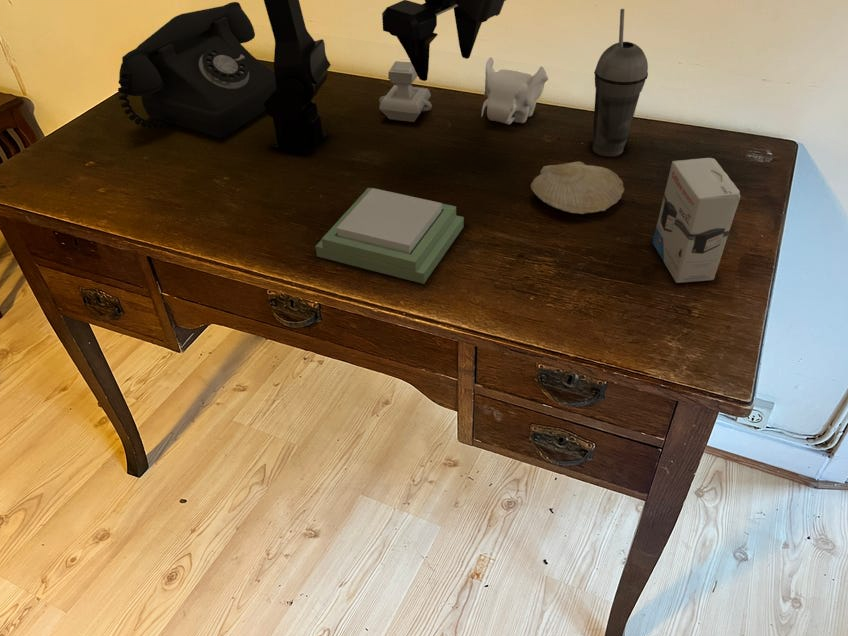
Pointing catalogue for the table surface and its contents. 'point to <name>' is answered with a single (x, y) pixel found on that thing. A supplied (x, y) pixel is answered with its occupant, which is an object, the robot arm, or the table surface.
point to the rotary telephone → (198, 73)
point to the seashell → (578, 187)
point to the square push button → (390, 220)
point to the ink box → (695, 219)
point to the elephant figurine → (511, 93)
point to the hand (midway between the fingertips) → (444, 68)
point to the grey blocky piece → (404, 94)
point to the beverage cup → (617, 93)
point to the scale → (392, 261)
